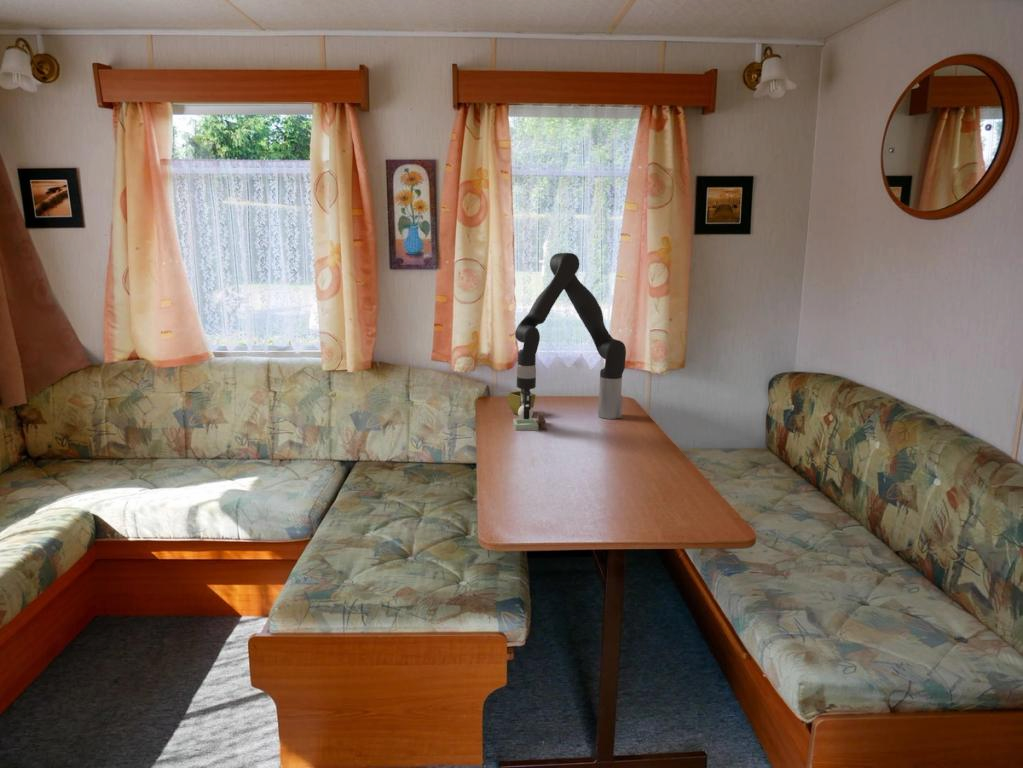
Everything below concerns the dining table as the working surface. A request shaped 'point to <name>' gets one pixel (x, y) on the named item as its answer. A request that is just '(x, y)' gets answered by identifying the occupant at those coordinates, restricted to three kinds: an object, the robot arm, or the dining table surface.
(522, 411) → the ball
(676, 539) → the dining table surface
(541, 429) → the rail
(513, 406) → the flower pot
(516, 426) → the dish
